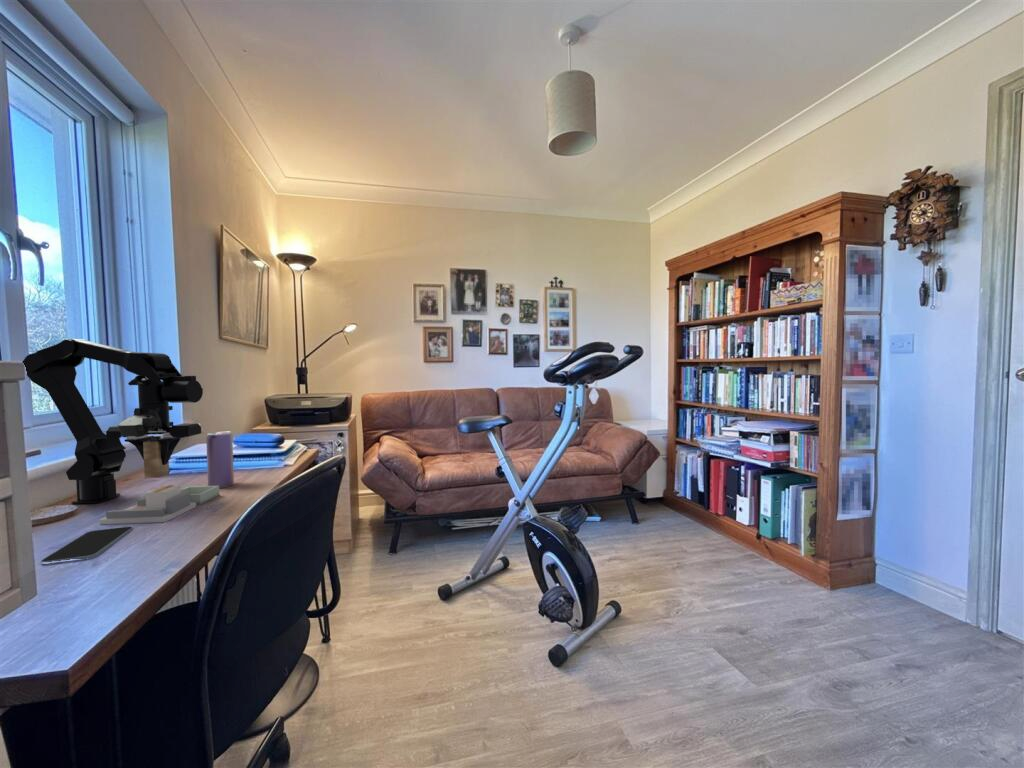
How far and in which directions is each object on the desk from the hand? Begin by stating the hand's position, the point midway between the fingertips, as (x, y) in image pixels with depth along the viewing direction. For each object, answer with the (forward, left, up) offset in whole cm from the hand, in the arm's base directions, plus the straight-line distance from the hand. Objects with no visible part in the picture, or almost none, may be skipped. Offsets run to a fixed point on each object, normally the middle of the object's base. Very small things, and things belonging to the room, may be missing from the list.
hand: (156, 464), depth 105 cm
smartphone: (+8, -28, -9) cm, 31 cm away
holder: (+10, -2, -9) cm, 13 cm away
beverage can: (+9, +11, -9) cm, 17 cm away
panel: (+7, -12, -9) cm, 16 cm away
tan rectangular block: (0, 0, -3) cm, 3 cm away
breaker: (+10, -12, -7) cm, 17 cm away
